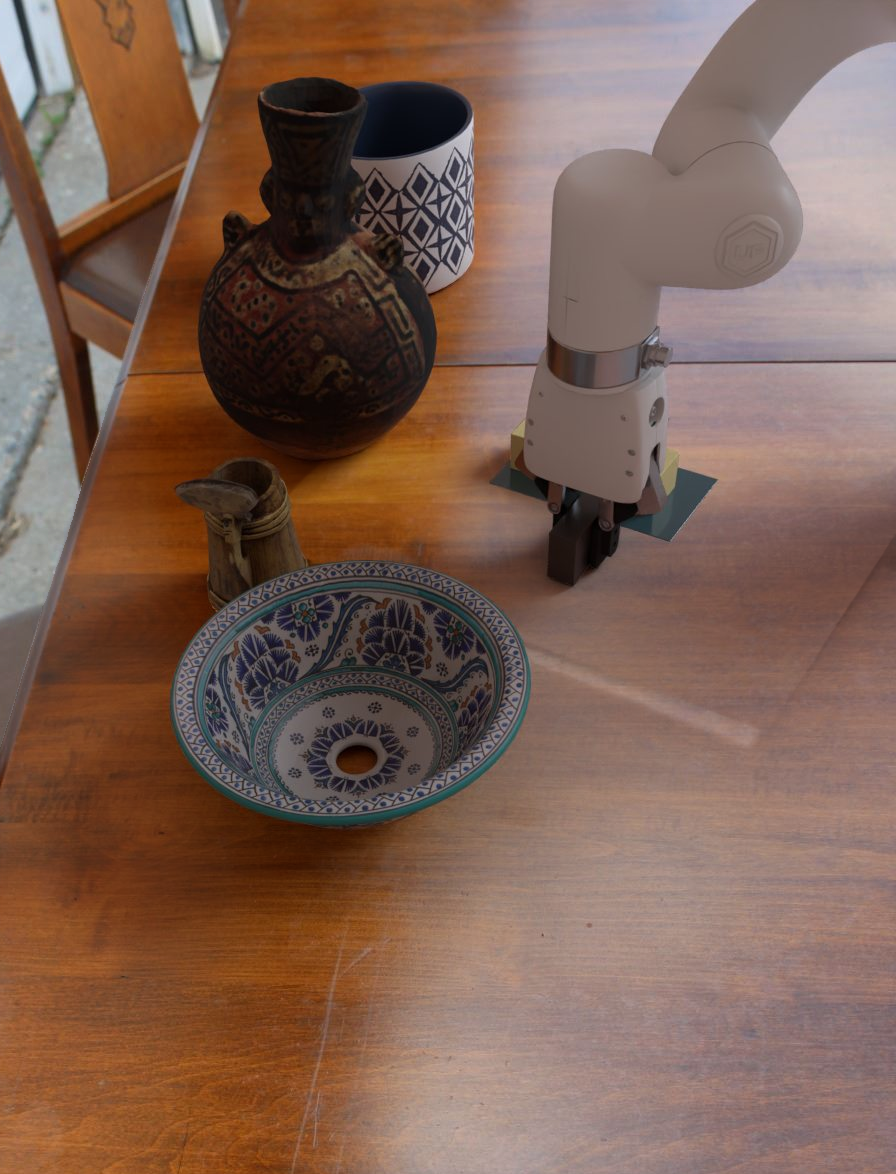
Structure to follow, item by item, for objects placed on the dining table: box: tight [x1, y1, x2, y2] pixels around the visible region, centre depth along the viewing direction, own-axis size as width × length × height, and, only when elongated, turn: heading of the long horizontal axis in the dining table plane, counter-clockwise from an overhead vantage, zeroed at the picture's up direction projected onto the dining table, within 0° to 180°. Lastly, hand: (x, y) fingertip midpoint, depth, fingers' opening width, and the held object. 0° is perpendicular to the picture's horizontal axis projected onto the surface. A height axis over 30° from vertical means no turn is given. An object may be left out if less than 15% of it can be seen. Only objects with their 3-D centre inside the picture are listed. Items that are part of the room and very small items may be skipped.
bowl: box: [169, 559, 532, 830], centre depth 95 cm, size 25×25×10 cm
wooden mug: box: [173, 456, 309, 611], centre depth 104 cm, size 9×14×18 cm, turn 169°
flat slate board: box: [489, 459, 719, 543], centre depth 114 cm, size 17×9×1 cm, turn 55°
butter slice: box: [660, 448, 681, 496], centre depth 110 cm, size 2×4×4 cm, turn 145°
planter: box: [351, 80, 475, 295], centre depth 134 cm, size 16×16×14 cm
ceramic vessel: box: [197, 76, 438, 461], centre depth 111 cm, size 21×18×30 cm
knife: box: [546, 417, 670, 587], centre depth 109 cm, size 18×2×4 cm, turn 145°
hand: (584, 550), depth 108 cm, fingers closed on knife, 2 cm apart
